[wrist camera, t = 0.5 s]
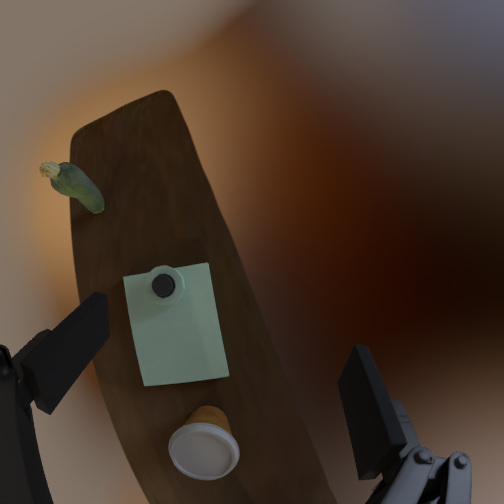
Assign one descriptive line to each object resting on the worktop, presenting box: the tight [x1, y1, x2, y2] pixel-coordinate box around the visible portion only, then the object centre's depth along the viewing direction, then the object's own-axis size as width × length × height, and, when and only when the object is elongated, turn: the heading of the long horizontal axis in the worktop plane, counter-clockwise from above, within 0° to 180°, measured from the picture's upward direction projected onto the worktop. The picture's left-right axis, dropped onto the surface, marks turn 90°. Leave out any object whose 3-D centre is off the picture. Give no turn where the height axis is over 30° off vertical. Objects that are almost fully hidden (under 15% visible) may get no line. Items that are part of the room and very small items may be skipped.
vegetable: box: [40, 162, 105, 214], centre depth 36 cm, size 4×4×20 cm
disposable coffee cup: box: [168, 406, 239, 480], centre depth 37 cm, size 10×10×12 cm
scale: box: [123, 263, 229, 386], centre depth 43 cm, size 18×14×3 cm
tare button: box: [152, 275, 174, 296], centre depth 42 cm, size 3×3×2 cm
